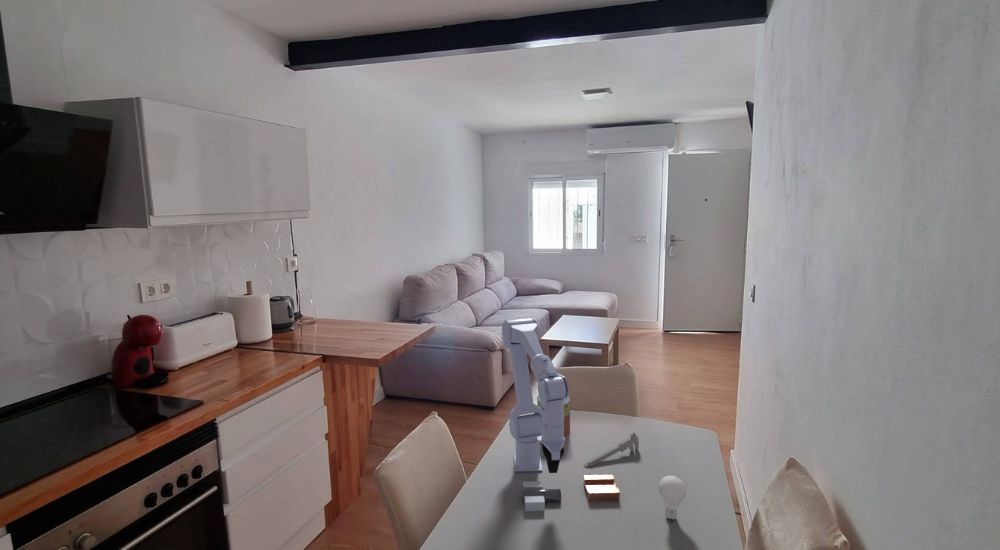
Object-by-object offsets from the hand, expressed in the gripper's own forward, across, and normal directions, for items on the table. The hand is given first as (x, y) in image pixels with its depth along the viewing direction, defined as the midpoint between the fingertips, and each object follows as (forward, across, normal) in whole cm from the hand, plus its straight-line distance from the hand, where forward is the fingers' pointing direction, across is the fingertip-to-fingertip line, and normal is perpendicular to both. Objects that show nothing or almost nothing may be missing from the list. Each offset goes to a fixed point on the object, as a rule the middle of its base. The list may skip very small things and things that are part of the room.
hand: (552, 470), depth 126 cm
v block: (+8, -3, +14) cm, 16 cm away
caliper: (+9, -20, +20) cm, 30 cm away
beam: (+8, 0, -5) cm, 10 cm away
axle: (+9, 0, -3) cm, 9 cm away
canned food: (+9, -37, +4) cm, 38 cm away
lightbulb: (+9, +8, +28) cm, 31 cm away
